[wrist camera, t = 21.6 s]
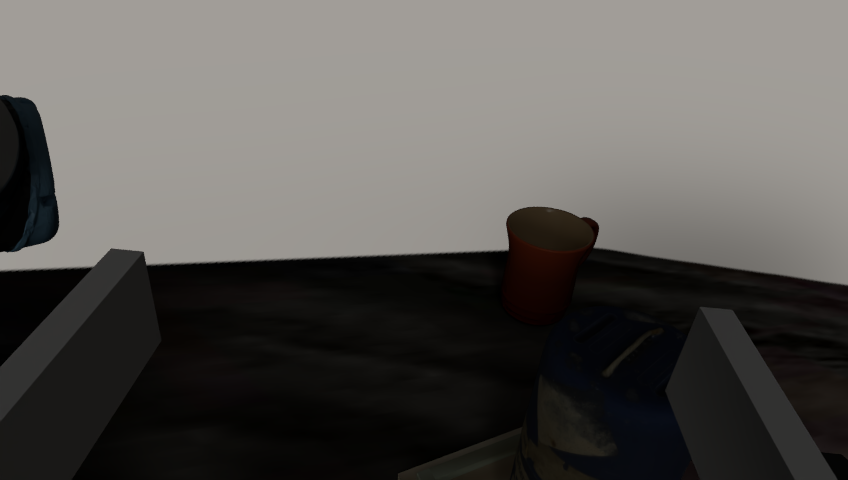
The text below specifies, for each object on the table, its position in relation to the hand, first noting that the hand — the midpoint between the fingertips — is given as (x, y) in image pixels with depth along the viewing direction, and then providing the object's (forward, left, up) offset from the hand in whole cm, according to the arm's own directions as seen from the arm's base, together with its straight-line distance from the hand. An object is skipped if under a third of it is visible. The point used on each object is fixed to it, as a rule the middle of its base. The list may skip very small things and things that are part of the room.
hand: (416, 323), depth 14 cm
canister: (-6, +17, -29) cm, 34 cm away
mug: (-29, +32, -30) cm, 53 cm away
